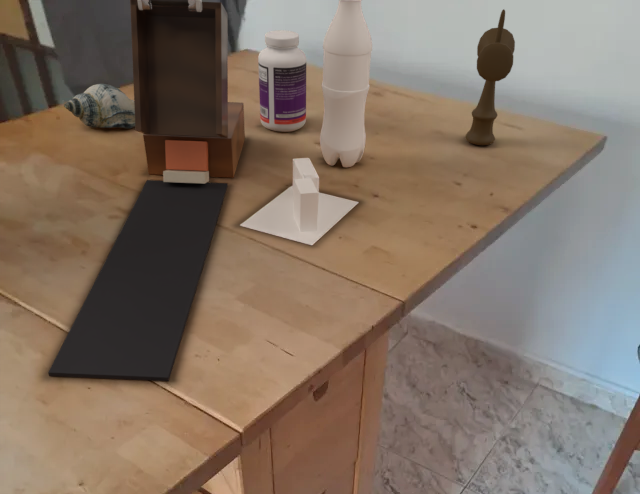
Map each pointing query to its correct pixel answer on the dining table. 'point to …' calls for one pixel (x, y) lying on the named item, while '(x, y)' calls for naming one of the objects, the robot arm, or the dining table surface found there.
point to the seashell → (103, 107)
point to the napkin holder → (301, 208)
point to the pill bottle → (282, 82)
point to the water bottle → (345, 84)
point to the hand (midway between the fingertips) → (171, 10)
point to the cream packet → (186, 176)
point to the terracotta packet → (186, 155)
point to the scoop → (180, 69)
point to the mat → (144, 286)
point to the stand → (219, 149)
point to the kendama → (490, 79)
